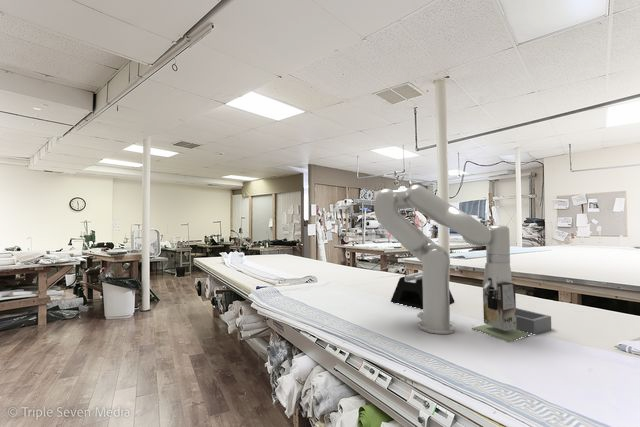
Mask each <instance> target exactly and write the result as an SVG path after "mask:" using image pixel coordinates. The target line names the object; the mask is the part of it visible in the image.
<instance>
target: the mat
mask: <svg viewBox="0 0 640 427" xmlns="http://www.w3.org/2000/svg"><path fill="white" fill-rule="evenodd" d="M471 329H474V330H473V331H475V330H477V331H476V332H478V331H481V332H483V333H482V334H484V333H486V334H485V335H487V334H488V336H490V335H491V336H490V337H493V336H494V337H493V338H496V339H499V340H502V341H505V342H508V343H511V341H512V342H514V340H515V341H517V340H516V339H518V340H520V339H519V338H521V337H525V336H528V335H530V336H531V334H529V333H526V332H523V331H519V330H516V329H512V330H505V331H504V330H501V329H499V328H496V327H493V326H491V325H488V324H485V323H484V324H482V325H478V326H474V327H472V328H471ZM481 332H480V333H481ZM528 337H529V336H528ZM525 338H526V337H525Z"/></svg>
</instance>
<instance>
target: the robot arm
mask: <svg viewBox="0 0 640 427" xmlns="http://www.w3.org/2000/svg"><path fill="white" fill-rule="evenodd" d="M373 204H374V206H373V210H374V215H375V218H376V220H377V221H378V223H379V224H380V225H381V227H382V228H383V229H384V230H386V232H388V233H389V234H390V235H391V236H392V237H393V238H394V239H396V241H398V242H399V243H400V244H401V246H402V247H403V248H405V249H406V250H407V251H408V252H409V253H410V254H412V255H413V256H414V257H415V258H416V259H418V260H419V261H420V262H421V263H422V272H423V274H422V285H423V309H422V311H419V312H418V314H417V315H416V317H417V318H419V319H421V321H420V322H419V324H418V327H419V329H420V330H421V331H425V332H426V333H431V334H436V335H447V334H452V333H454V332H455V326H454V325H453V324H451V317H450V316H451V313H450V309H451V308H450V307H451V306H450V305H451V304H449V289H450V270H451V269H450V268H451V267H450V265H451V261H450V260H451V258H450V255H449V253H448V251H447V250H446V249H445V248H444V247H442V246H440V245H438V243H437V244H436V243H435V242H434V241H433V240H431V238H429V237H428V236H427V235H426V234H424V232H423V231H422V230H421V229H420V228H419V227H417V226H415V225H414V224H412V223H411V222H410V221H409V220H408V219H406V217H404V215H402V214H401V213H400V212H399V211H398V210H405V209H412V208H415V209H416V210H418V211H419V212H421V213H422V214H423V215H424V216H426V217H427V218H429V219H431V221H433V222H435V223H437V224H439V225H440V226H443V227H446V228H448V229H450V230H452V231H454V232H455V233H457V234H459V235H460V236H461V238H462V239H463V241H464V242H465V243H466V244H469V245H472V246H476V247H483V246H485V248H486V252H485V253H486V254H485V255H486V256H485V257H486V262H485V265H484V273H483V274H484V275H483V281H484V287H483V286H482V290H483V289H484V291H485V294H486V296H487V297H488V308H490V309H493V310H497V299H496V295H497V291H498V284H502V283H513V282H512V280H513V279H512V278H513V276H512V269H511V250H510V248H511V247H510V246H511V245H510V241H511V240H510V229H509V227H508V226H507V225H487V226H486V225H485V224H484V223H482V222H481V221H479V220H477V219H476V218H474V217H473V216H471V215H470V214H468V213H466V212H464V211H462V210H460V209H459V208H458V207H456V206H454V205H452V204H451V203H449V202H447V201H446V200H444V199H443V198H441V197H440V196H438V195H437V194H435V193H433V192H432V191H430V190H429V189H427V188H426V187H424V186H423V185H421V184H413V185H411V186H409V187H407V188H403V189H394V190H393V189H390V188H383V189H380V190H379V191H378V192H377V194H376V195H375V197H374V203H373ZM491 287H494V289H491ZM491 291H492V292H493V294H492V292H491Z"/></svg>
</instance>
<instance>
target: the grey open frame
mask: <svg viewBox="0 0 640 427" xmlns="http://www.w3.org/2000/svg"><path fill="white" fill-rule="evenodd" d="M516 327H517V329H515V330H518V331H519V330H520V331H521V332H523V331H524V333H526V332H528V334H529V333H532V334H531V335H533V334H536V335H539V334H542V333H545V332H548V331H552V316H551V315H548V314H543V313H538V312H535V311H532V310H527V309H522V308H519V307H516Z"/></svg>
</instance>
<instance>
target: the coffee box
mask: <svg viewBox="0 0 640 427" xmlns="http://www.w3.org/2000/svg"><path fill="white" fill-rule="evenodd" d="M483 287H484V280H482V299H483V301H482V305H483V306H482V307H483V310H482V311H483V323H484V325H485V324H488V325H491V326H493V327H496V328H499V329H501V330H504V331H505V330H512V329H514V330H516V329H517V327H516V308H517V299H516V283H513V282H512V283H502V284H498V291H497V295H496V299H497V310H493V309H490V308H488V297H487V296H486V294H485V291H484V289H483ZM491 289H494V287H491ZM491 292H492V291H491ZM492 294H493V292H492Z"/></svg>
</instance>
